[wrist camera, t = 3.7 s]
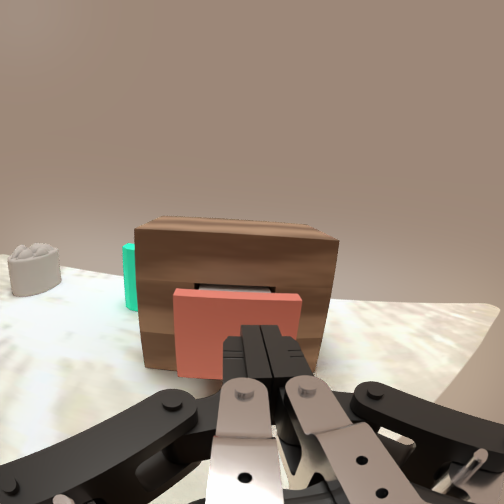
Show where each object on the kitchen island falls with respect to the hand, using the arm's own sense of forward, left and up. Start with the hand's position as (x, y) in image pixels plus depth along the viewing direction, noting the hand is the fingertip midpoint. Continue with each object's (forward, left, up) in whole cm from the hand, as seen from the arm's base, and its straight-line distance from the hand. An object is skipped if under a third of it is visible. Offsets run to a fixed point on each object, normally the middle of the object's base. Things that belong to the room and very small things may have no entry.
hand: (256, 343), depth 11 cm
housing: (+16, +14, -14) cm, 25 cm away
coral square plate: (+11, +9, -10) cm, 17 cm away
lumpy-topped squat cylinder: (-1, +55, -14) cm, 57 cm away
